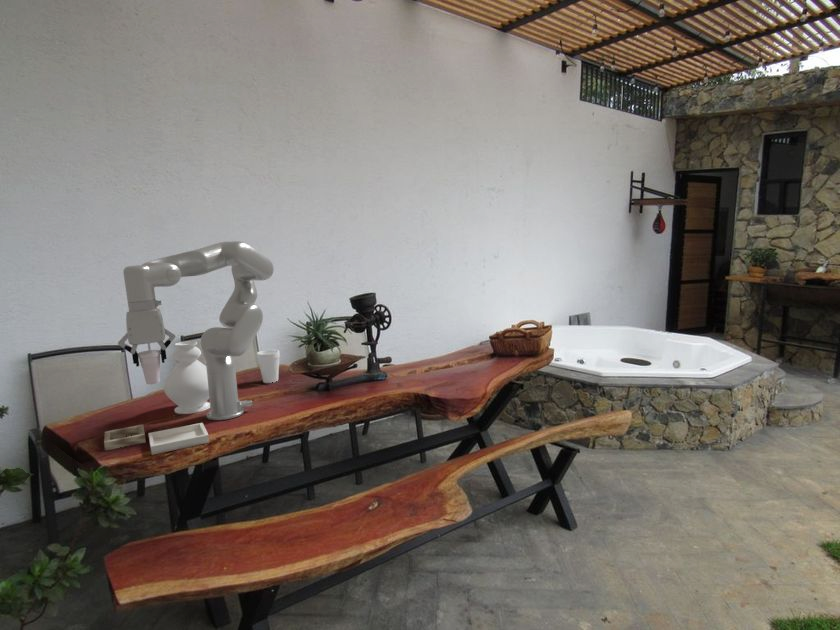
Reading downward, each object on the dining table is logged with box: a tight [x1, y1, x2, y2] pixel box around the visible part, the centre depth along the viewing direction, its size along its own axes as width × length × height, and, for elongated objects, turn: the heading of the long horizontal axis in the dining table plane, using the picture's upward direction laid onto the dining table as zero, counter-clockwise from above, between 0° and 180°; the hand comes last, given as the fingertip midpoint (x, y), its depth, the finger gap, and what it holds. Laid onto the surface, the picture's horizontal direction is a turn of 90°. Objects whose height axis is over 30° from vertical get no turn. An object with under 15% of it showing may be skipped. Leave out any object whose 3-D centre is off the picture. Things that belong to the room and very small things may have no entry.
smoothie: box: [138, 343, 161, 385], centre depth 161 cm, size 6×6×14 cm
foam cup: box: [256, 349, 281, 384], centre depth 229 cm, size 10×9×13 cm
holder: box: [103, 424, 147, 451], centre depth 166 cm, size 11×11×2 cm
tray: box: [147, 422, 210, 456], centre depth 164 cm, size 16×13×2 cm
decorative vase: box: [163, 340, 210, 415], centre depth 194 cm, size 18×18×25 cm
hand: (150, 363), depth 161 cm, fingers closed on smoothie, 6 cm apart
